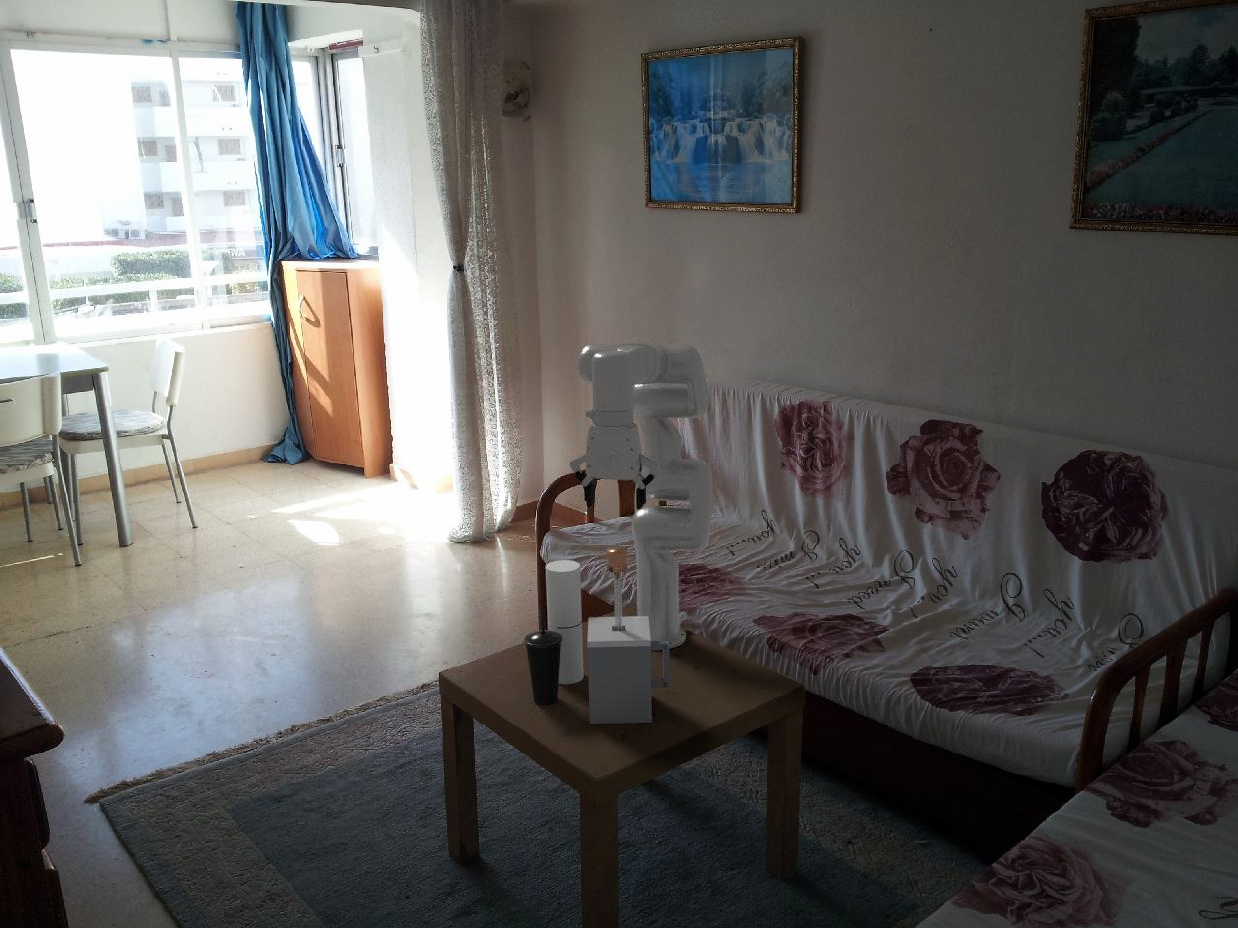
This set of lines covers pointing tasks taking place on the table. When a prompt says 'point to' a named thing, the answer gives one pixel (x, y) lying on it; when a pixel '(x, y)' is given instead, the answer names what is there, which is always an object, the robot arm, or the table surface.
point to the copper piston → (617, 578)
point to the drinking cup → (544, 663)
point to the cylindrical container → (566, 616)
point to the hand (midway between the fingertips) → (615, 506)
